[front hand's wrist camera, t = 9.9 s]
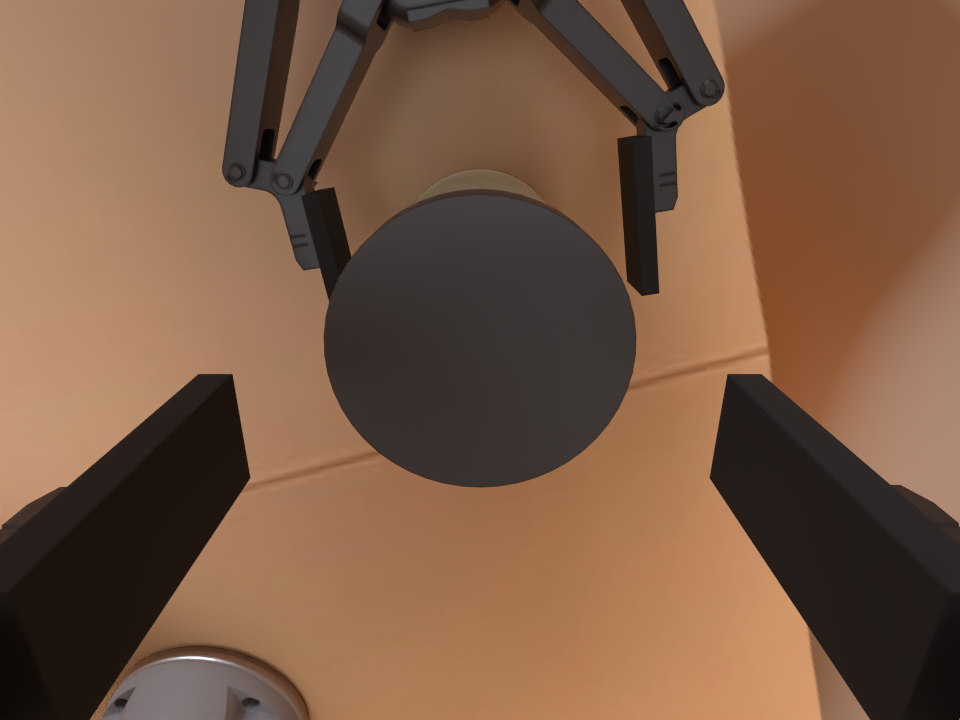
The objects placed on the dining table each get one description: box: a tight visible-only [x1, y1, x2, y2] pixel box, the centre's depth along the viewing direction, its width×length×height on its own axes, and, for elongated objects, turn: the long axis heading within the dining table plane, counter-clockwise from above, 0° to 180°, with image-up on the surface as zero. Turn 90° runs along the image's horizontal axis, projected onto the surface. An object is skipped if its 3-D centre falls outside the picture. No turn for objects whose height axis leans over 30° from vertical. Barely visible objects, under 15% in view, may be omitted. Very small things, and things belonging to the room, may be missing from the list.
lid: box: [324, 189, 636, 487], centre depth 18 cm, size 10×10×2 cm
